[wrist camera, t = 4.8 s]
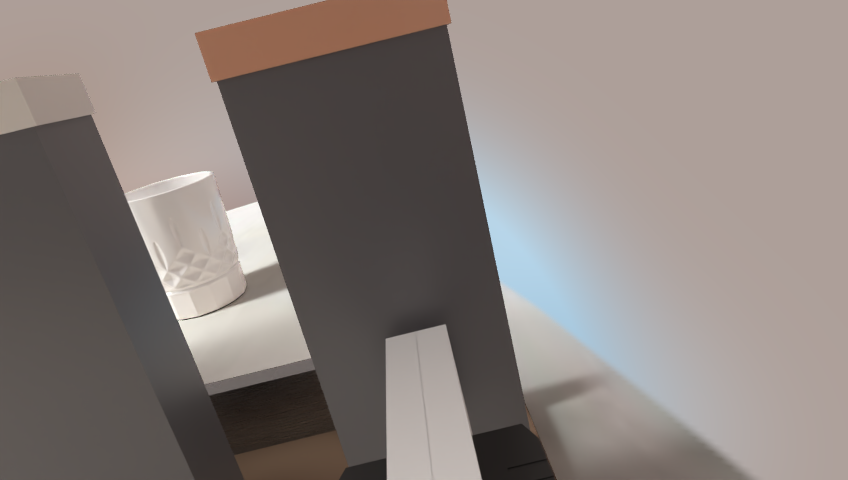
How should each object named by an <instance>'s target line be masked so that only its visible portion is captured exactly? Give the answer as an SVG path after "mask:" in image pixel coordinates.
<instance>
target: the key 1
mask: <svg viewBox="0 0 848 480" xmlns="http://www.w3.org/2000/svg"><path fill="white" fill-rule="evenodd" d="M450 23H451V19H450V14H449V9H448V4H447V0H326V1H323V2H318V3H314V4H310V5H306V6H302V7H298V8H294V9H290V10H286V11H282V12H278V13H274V14H270V15H266V16H262V17H258V18H254V19H250V20H246V21H242V22H238V23H234V24H230V25H226V26H222V27H218V28H214V29H209V30H206V31H202V32H198V33H195V36H196V39H197V41H198V44H199V47H200V50H201V53H202V56H203V59H204V62H205V65H206V67H207V70H208V73H209V76H210V79H211V82H217V83H218V86H219V89H220V92H221V94H222V98H223V101H224V104H225V106H226V109H227V112H228V115H229V118H230V121H231V124H232V127H233V130H234V133H235V136H236V139H237V142H238V144H239V147H240V150H241V153H242V156H243V159H244V162H245V165H246V168H247V170H248V174H249V177H250V180H251V182H252V185H253V188H254V191H255V194H256V197H257V200H258V203H259V206H260V209H261V212H262V215H263V218H264V221H265V224H266V226H267V229H268V232H269V235H270V238H271V241H272V244H273V247H274V250H275V253H276V256H277V259H278V262H279V265H280V267H281V270H282V273H283V276H284V279H285V282H286V285H287V288H288V291H289V294H290V297H291V300H292V303H293V306H294V308H295V311H296V314H297V317H298V320H299V323H300V326H301V329H302V332H303V335H304V338H305V341H306V344H307V347H308V349H309V352H310V355H311V358H312V361H313V364H314V367H315V370H316V373H317V376H318V379H319V382H320V385H321V388H322V390H323V393H324V396H325V399H326V402H327V405H328V408H329V411H330V414H331V417H332V420H333V423H334V426H335V428H336V431H337V434H338V437H339V440H340V443H341V446H342V449H343V452H344V455H345V458H346V461H347V464H348V467H351V466H355V465H359V464H364V463H368V462H372V461H376V460H380V459H384V458H387V435H386V339H387V338H391V337H395V336H399V335H403V334H407V333H411V332H415V331H420V330H424V329H428V328H432V327H436V326H440V325H444V324H446V328H447V332H448V336H449V340H450V344H451V348H452V352H453V356H454V360H455V364H456V369H457V373H458V377H459V381H460V385H461V389H462V393H463V397H464V401H465V405H466V409H467V413H468V417H469V421H470V426H471V430H472V434H473V435H476V434H480V433H484V432H488V431H493V430H497V429H501V428H505V427H509V426H513V425H517V424H523V425H524V426H525V427H526V428H528V429H529V430H530V426H529V421H528V417H527V412H526V407H525V402H524V397H523V392H522V388H521V383H520V378H519V373H518V368H517V363H516V359H515V354H514V349H513V344H512V339H511V334H510V329H509V325H508V320H507V315H506V310H505V305H504V300H503V296H502V291H501V286H500V281H499V276H498V271H497V266H496V262H495V258H494V252H493V247H492V243H491V237H490V233H489V228H488V223H487V218H486V213H485V209H484V204H483V199H482V194H481V189H480V184H479V179H478V174H477V170H476V165H475V160H474V155H473V150H472V145H471V141H470V136H469V131H468V126H467V121H466V116H465V111H464V107H463V102H462V97H461V93H460V87H459V83H458V78H457V73H456V68H455V63H454V58H453V53H452V49H451V44H450V39H449V34H448V29H447V25H448V24H450Z"/></svg>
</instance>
